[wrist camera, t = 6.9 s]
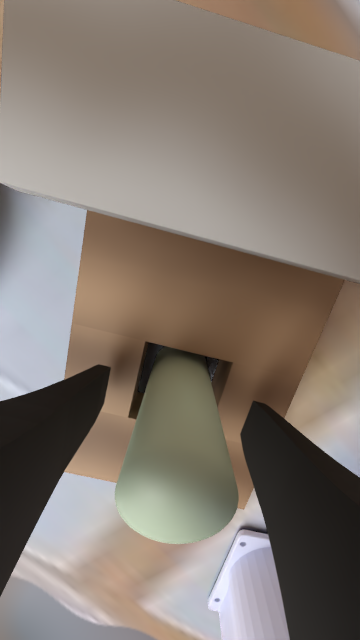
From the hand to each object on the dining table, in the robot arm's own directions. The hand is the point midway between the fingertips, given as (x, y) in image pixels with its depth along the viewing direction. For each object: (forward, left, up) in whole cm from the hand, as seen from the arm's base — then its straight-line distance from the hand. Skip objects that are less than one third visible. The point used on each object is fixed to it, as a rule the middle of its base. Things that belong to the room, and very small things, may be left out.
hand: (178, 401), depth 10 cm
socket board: (+2, 0, -3) cm, 4 cm away
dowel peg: (0, 0, -3) cm, 3 cm away
